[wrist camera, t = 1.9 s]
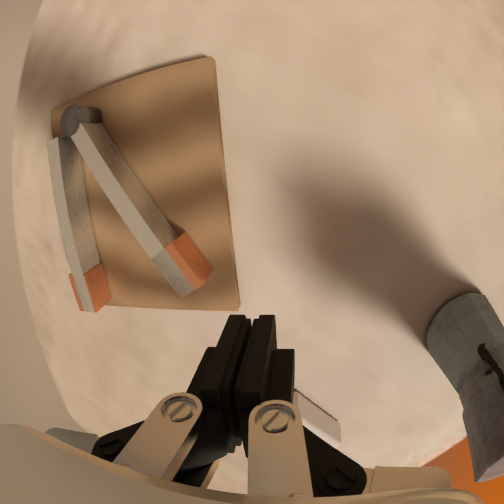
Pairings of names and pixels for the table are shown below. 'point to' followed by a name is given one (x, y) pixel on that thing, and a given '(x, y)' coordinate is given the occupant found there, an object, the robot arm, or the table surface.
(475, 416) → the moka pot
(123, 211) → the tong leg
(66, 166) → the bar
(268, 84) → the table surface
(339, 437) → the charger
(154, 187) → the board
